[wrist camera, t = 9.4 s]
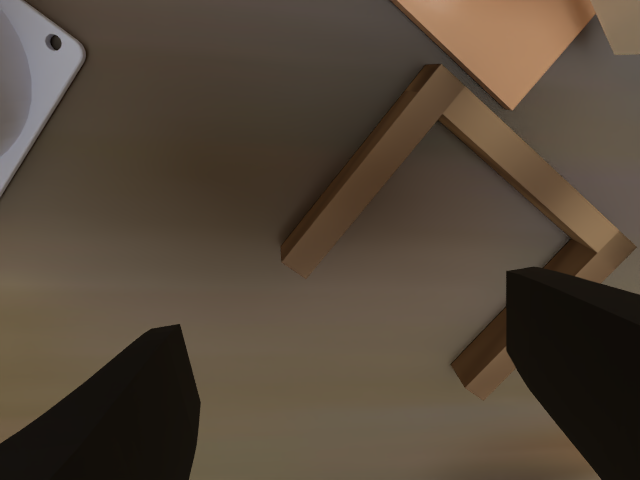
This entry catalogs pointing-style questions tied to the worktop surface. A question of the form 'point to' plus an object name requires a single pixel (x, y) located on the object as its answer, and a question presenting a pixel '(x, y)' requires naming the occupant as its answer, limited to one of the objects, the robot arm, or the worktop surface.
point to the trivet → (501, 38)
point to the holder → (498, 152)
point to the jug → (620, 24)
